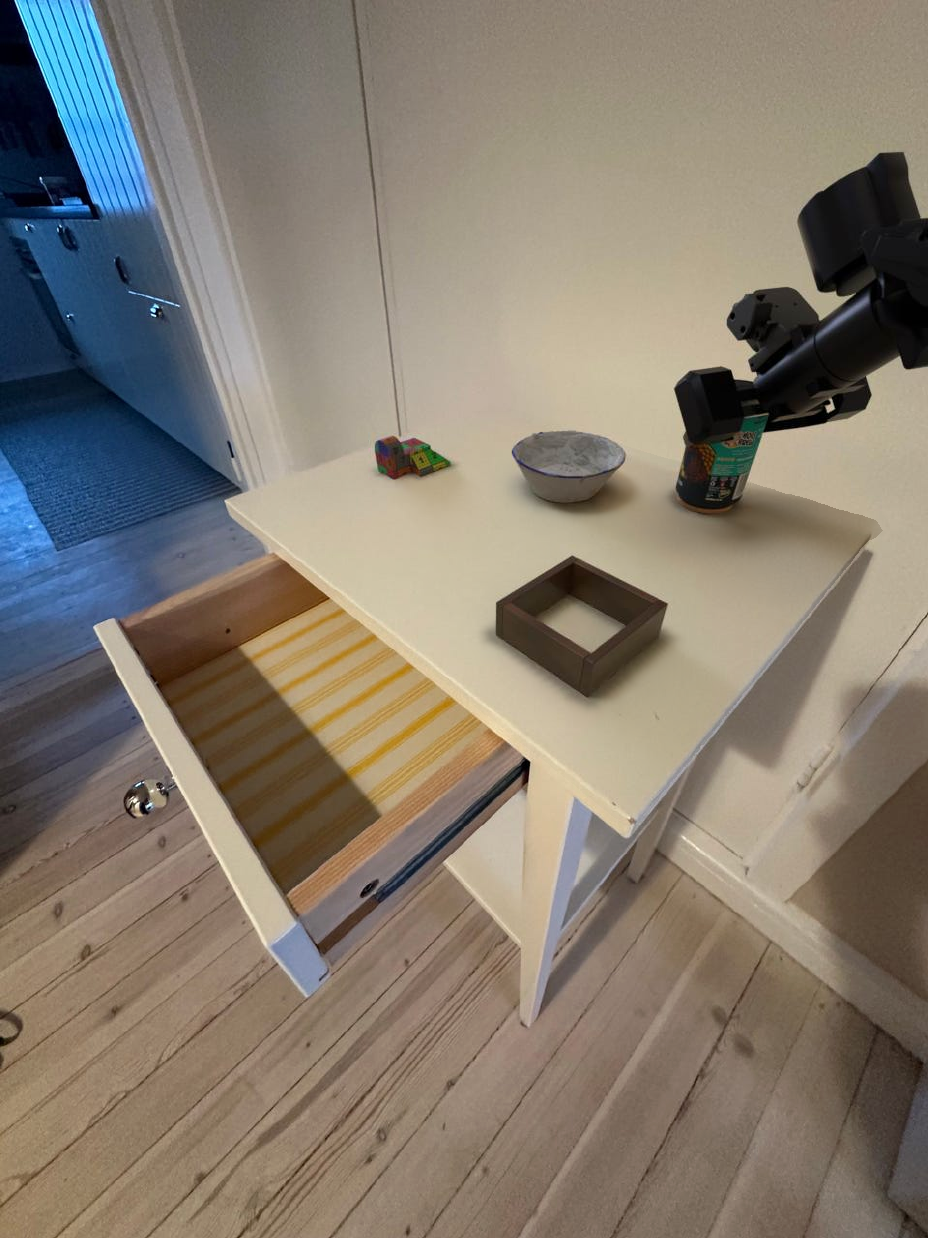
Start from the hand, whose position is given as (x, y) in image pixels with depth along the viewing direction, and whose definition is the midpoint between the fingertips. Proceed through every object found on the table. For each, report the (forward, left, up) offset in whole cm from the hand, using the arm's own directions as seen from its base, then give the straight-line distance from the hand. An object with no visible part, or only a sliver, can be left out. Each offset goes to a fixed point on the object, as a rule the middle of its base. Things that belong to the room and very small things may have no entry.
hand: (714, 435), depth 57 cm
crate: (0, +30, -7) cm, 31 cm away
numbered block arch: (+33, +13, -7) cm, 36 cm away
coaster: (-1, +1, -7) cm, 7 cm away
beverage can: (-1, +1, -7) cm, 7 cm away
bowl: (+14, +7, -7) cm, 17 cm away
